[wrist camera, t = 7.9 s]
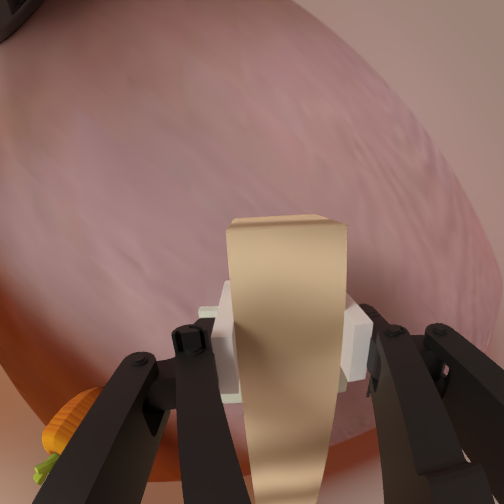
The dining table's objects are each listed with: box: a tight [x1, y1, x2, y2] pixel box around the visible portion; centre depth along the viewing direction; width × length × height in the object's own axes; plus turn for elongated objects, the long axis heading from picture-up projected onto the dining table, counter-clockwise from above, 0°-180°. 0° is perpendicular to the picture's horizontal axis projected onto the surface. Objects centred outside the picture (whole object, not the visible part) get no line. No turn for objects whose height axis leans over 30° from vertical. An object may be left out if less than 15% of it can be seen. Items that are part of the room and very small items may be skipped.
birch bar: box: [226, 214, 347, 504], centre depth 15 cm, size 24×4×6 cm, turn 4°
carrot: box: [33, 387, 103, 485], centre depth 18 cm, size 5×5×15 cm
